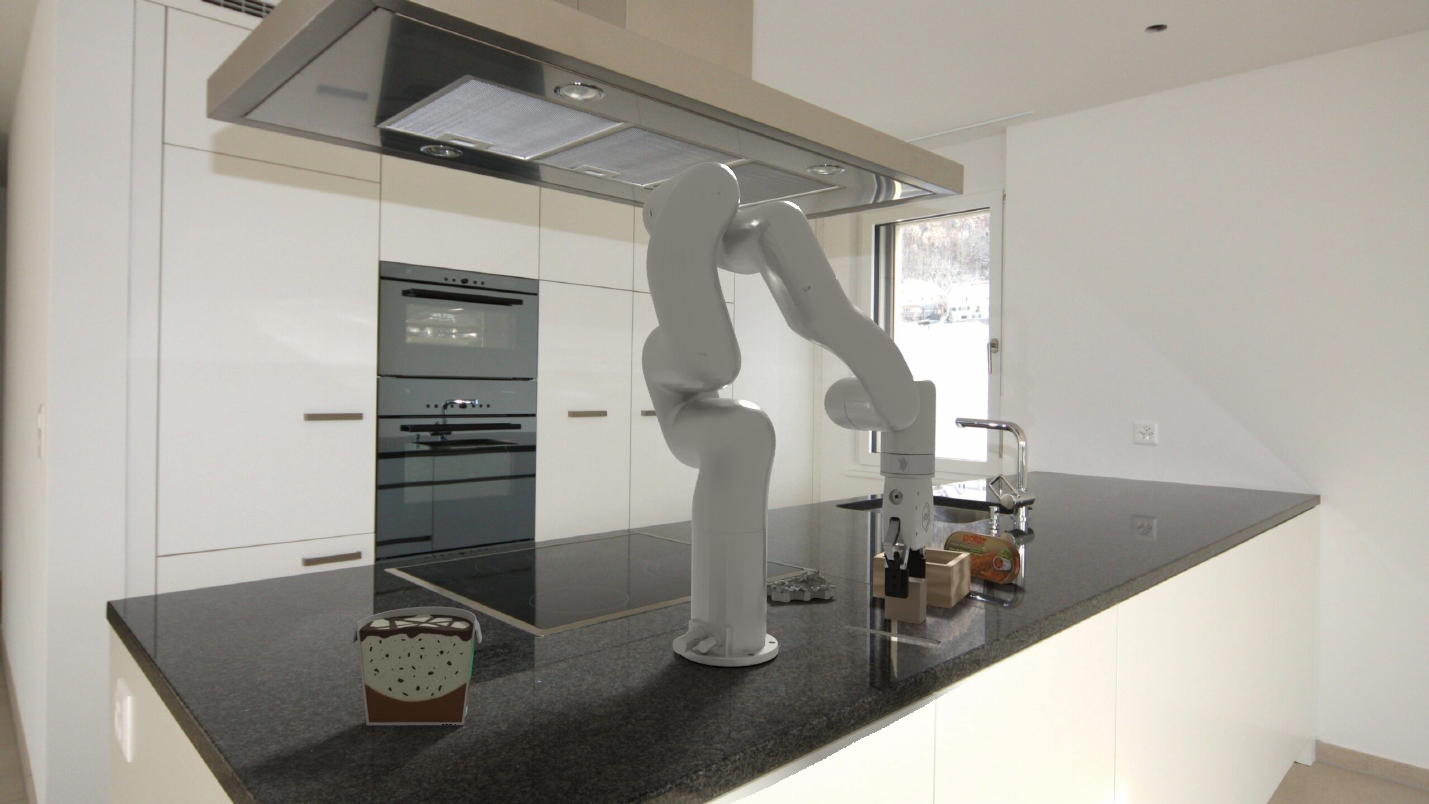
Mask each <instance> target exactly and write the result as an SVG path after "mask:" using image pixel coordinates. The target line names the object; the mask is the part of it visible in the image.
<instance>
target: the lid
mask: <svg viewBox="0 0 1429 804" xmlns="http://www.w3.org/2000/svg"><path fill="white" fill-rule="evenodd" d="M926 594H927V579H923V578H916V577H909V592H908V597H907V598H906V599H902V598H896V597H889V596H886V595H885V599H884V619H885V620H892V621H898V622H904V623H911V624H916V625H921V624H922V623H923V622H925V621H926V620H927V605H926ZM844 629H847V630H852V631H858V632H865V633H871V634H875V635H881V636H888V637H892V638H899V639H905V640H910V641H916V642H921V643H927V644H931V645H932V644H933V645H937V646H938V645H939V644H941V643H942V641H941V640H936V639H929V638H925V637H924V638H923V637H918V636H913V635H907V634H902V633H896V632H890V631H884V630H878V629H873V628H872V629H871V628H866V627H860V626H854V625H848V624H844Z"/></svg>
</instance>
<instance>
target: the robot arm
mask: <svg viewBox="0 0 1429 804" xmlns="http://www.w3.org/2000/svg"><path fill="white" fill-rule="evenodd" d="M740 190H741V189H740V185H739V182H738V179H737V177H736V175H735V174H734V172H733V171H732V170H731V169H730V168H729V167H728V166H727V165H725V164H722V163H720V162H717V161H705V162H700V163H696V164H694V165H691V166H690V167H688V168H685V169H684V170H682V171H681V172H678V173H676V174H675V175H674V176H673V177H671V178H669V179H667V180H665V181H664V182H662V183H660V184H659V185H657V186H656V187H655V188H653V190H651V191H650V193H648V195H647V197H646V198H645V200H644V202H643V203H644V204H643V205H642V211H641V212H642V214H641V215H642V221H643V222H642V223H643V226H644V228H645V230H646V233H648V235H649V240H648V245H647V250H646V262H645V263H646V267H645V268H646V278H647V284H648V287H649V292H650V296H651V299H652V302H653V303H652V304H653V307H654V310H655V315H656V319H657V321H658V324H659V325H658V326H656V327H655V328H654V329H652V331H651V332H650V333H649V334H648V336H647V337H646V339H645V341H644V343H643V347H642V353H641V366H642V367H641V369H642V374H643V377H644V381H645V385H646V388H647V391H648V394H649V397H650V399H651V400H650V401H651V403H652V405H653V409H654V412H655V415H656V418H657V421H658V424H659V427H660V430H661V434H662V437H663V438H664V441H665V444H666V445H667V448H668V449H669V451H670V453H671V454H672V455H673V456H674V458H675V459H676V460H677V461H679V462H680V463H682V464H683V465H685V466H688V467H690V468H693V469H697V470H698V475H697V477H696V478H697V480H696V483H695V487H694V491H693V495H692V496H693V497H692V504H691V523H690V524H691V568H690V569H691V571H690V574H691V575H690V577H691V578H690V579H691V580H690V583H691V584H690V585H691V586H690V619H689V620H688V630H687V631H686V633H684V634H682V635H680V636H677V637H675V638H674V639H673V641H672V648H673V651H674V652H675V653H676V654H679V655H681V656H682V657H684V658H685V659H687V660H689V661H692V662H695V663H697V664H701V665H707V666H715V667H716V666H717V667H745V666H747V667H748V666H753V665H759V664H763V663H766V662H768V661H770V660H772V659H774V658H775V657H776V656H777V655H778V654H779V641H778V640H777V638H775V637H774V636H772V635H770V634H768V633H767V614H768V613H767V610H768V609H767V607H768V606H767V601H768V600H767V599H768V595H767V581H768V535H769V533H768V529H769V527H768V518H769V517H768V514H769V512H768V511H769V510H768V509H769V507H768V506H769V493H770V492H769V491H770V481H771V478H772V477H771V476H772V471H773V466H774V465H773V464H774V460H775V455H776V448H777V447H776V446H777V444H776V443H777V437H776V431H775V427H774V424H773V422H772V420H771V418H770V417H769V415H768V414H767V413H766V412H765V410H763V409H762V408H761V407H760V406H759V405H757V404H755V403H753V402H750V401H748V400H745V399H740V398H729V397H728V398H723V397H720V394H719V391H720V390H724V389H725V388H727V387H729V386H730V385H732V384H733V383H734V382H735V381H736V379H737V378H738V376H739V374H740V373H741V370H742V369H741V368H742V353H741V349H740V348H741V347H740V345H739V342H738V339H737V336H736V332H735V329H734V326H733V323H732V319H731V316H730V312H729V309H728V306H727V303H726V300H725V297H724V293H723V290H722V286H721V281H720V277H719V271H718V269H720V270H721V269H722V270H723V271H724V270H725V271H727V272H730V273H734V274H739V275H747V276H748V275H754V274H760V275H761V277H762V279H763V281H764V282H765V284H766V286H767V288H768V290H769V292H770V293H771V296H772V297H773V300H774V301H775V303H776V305H777V307H778V309H779V310H780V312H781V314H782V316H783V318H784V320H785V323H786V324H787V326H788V327H789V328H790V330H791V331H793V333H794V334H796V335H799V337H801V338H803V339H805V340H807V341H808V342H810V343H813V344H814V345H817V346H819V347H821V348H823V349H825V350H827V352H830V353H831V354H833V355H835V357H837V359H839V360H841V361H842V362H843V363H844V364H845V365H846V366H847V367H848V368H849V370H850V371H851V372H852V373H853V375H852V376H851V375H850V376H846V377H843V378H840V379H838V380H835V382H833V383H832V384H831V385H830V386H829V387H828V389H827V391H826V392H825V396H824V399H823V403H824V405H823V406H824V410H825V411H824V412H825V413H826V415H827V417H828V418H829V419H830V420H831V421H832V423H834V424H835V425H837V426H838V427H840V428H843V429H847V430H851V431H852V430H854V431H863V432H867V431H872V432H880V455H879V456H880V457H879V458H880V463H879V464H880V465H879V467H880V470H879V473H880V474H879V475H880V476H881V477H884V484H883V494H882V495H883V496H882V507H881V508H882V509H881V543H882V548H883V552H885V553H884V555H885V556H884V557H885V562H884V566H885V595H886V596H889V597H896V598H902V599H906V598H907V597H908V592H909V577H916V578H923V579H926V559H922V558H926V548H927V547H926V546H927V545H929V544H931V543H932V542H933V541H934V539H935V509H934V490H933V489H934V487H933V481H932V478H935V477H936V431H937V430H936V422H937V420H936V418H937V388H936V385H935V383H934V382H933V381H932V380H930V379H927V378H919V377H914V376H913V374H912V371H911V369H910V368H909V365H908V363H907V361H906V358H904V356H903V353H902V351H901V350H900V349H899V347H898V345H897V344H896V343H895V341H894V340H893V338H891V337H890V335H889V334H888V333H887V332H886V331H885V330H884V329H883V328H882V327H881V326H880V325H878V324H877V323H876V322H875V321H874V320H873V319H872V318H871V317H870V316H868V315H867V314H866V313H865V312H864V310H862V309H860V308H859V307H858V306H857V305H856V304H855V303H853V302H852V301H851V300H850V298H849V297H848V295H846V293H845V291H844V289H843V287H842V285H841V283H840V281H839V279H838V277H837V276H836V273H835V271H834V269H833V267H832V265H831V263H830V261H829V259H828V257H827V255H826V253H825V251H824V249H823V248H822V247H823V246H822V245H821V243H820V241H819V239H818V238H817V235H816V234H815V232H814V230H813V228H812V225H811V224H810V222H809V220H808V218H807V216H806V214H805V213H804V212H803V211H802V210H801V208H800V207H799V206H797V205H796V204H795V203H793V202H790V201H787V200H786V201H785V200H775V201H768V202H766V203H762V204H759V205H756V206H754V207H751V208H749V209H747V210H740V209H739V207H740V204H741V203H740V202H741V191H740ZM901 545H904V546H901ZM899 552H902V557H900V554H899ZM908 556H909V557H908Z"/></svg>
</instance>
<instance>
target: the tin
mask: <svg viewBox="0 0 1429 804" xmlns="http://www.w3.org/2000/svg"><path fill="white" fill-rule="evenodd" d="M943 550H948V551H957V552H966V553H971V568H970V577H974V578H979V579H982V580H986V581H991V582H993V583H997V584H999V585H1008V584H1012V583H1014V581H1016V580H1017V578H1018V577H1019V575H1020V570H1021V556H1020V555H1021V554H1020V551H1019V550H1018V548H1017V546H1016V545H1015V544H1014V543H1013V542H1012V541H1011V540H1009V539H1008V538H1005V537H1001V536H996V535H989V534H984V533H978V532H973V531H965V530H964V531H963V530H957V531H954V532H952V533H951V534H950V535H949V536H947V538H946V540H945V542H944V546H943Z"/></svg>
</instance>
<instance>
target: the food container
mask: <svg viewBox="0 0 1429 804" xmlns="http://www.w3.org/2000/svg"><path fill="white" fill-rule="evenodd" d="M481 631H482V630H481V626H480V623H479V621H478V620H477V616H476V615H475V613H474V612H471V611H470V610H466V609H463V608H458V607H451V606H450V607H449V606H448V607H447V606H417V607H415V606H414V607H405V608H399V609H392V610H388V611H382V612H380V613H375V614H373V615H369V616H366V617H363V618H362V619H360V620H358V621H357V622H356V626H355V628H354V629H353V631H352V636H351V641H350V643H351V644H354V643H355V642H357V645H358V656H359V657H358V658H359V666H360V675H361V685H362V686H361V687H362V695H363V706H364V714H365V715H364V716H365V724H366V726H446V725H445V724H448V725H447V726H450V725H449V724H452V725H451V726H464V725H465V723H466V722H467V716H468V708H469V700H470V699H469V697H470V688H471V680H472V671H473V662H474V654H475V653H474V652H475V642H476V638H477V643H478V644H481V642H482V640H483V637H482V632H481ZM442 724H444V725H442ZM455 724H456V725H455Z"/></svg>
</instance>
